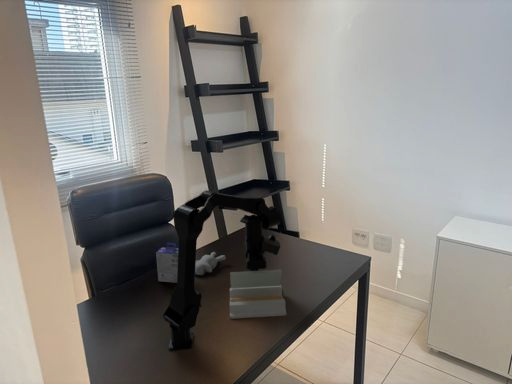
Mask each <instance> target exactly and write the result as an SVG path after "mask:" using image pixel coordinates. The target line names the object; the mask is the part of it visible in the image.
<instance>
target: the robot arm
mask: <svg viewBox="0 0 512 384" xmlns="http://www.w3.org/2000/svg"><path fill="white" fill-rule="evenodd" d="M216 207H221V208H227V209H228V208H230V209H237V210H240V211H242V212H245V213H249V214H250V215H247V214H243V217H241V219H240V220H239V222H240V223H243V224H245V225H244V226H245V227H244V229H245V234H244V235H245V237H244V238H245V240H244V241H243V242H244V245H243V246H244V250H245V252H246V253H245V262H246V263H245V265H246V269H247V270H249V271H259V270H264V269H267V259H266V256H264V254H266V252H267V253H269V254H273V255H274V256H278V254H279V251H280V249H281V243H280V241H279V240H276V236H275V235H274V234H270V235H269V236H268V237H264V230H269V229H271V228H274V227H275V226H278V225H280V224H281V221H282V217H281V214H280V213H279V211H278V210H277V207H276V206H273V205H271V206H268V205H267V204H266V200H265V198H264V197H260V196H255V195H252V194H241V195H236V196H235V195H232V194H225V193H221V192H214V191H211V190H204V191H202V192H201V193H200V194H198V195H197V196H195V197H193V198H191V199H188V200H187V201H185V202H184V203H183V204H182V205H180V206H178V207H177V208H176V209H175V210H174V212H173V214H172V215H173V225H174V229H175V232H176V234H177V236H178V247H177V248H178V271H177V283H176V286H175V289H174V290H173V291H172V293H171V297H170V301H169V304H168V306H167V308H166V309H165V311H164V313H163V314H162V318H163V320H164V321H165V322H167V323H168V324H169V331H170V339H169V344H168V350H171V351H172V350H183V349H184V350H185V349H192V348H193V342H194V335H195V334H194V332H192V331H191V328H194V327H195V326H196V324H197V318H198V315H199V313H200V308H202V303H201V302H202V293H201V292H200V291H198V290H196V289H195V282H196V281H195V280H196V278H195V277H196V274H195V264H196V261H197V242H198V241H197V240H198V238H199V237H200V235H201V233H202V232H203V230H204V229H203V228H204V225H205V222H206V221H208V219H210V218H211V216H212V214H213V211H214V209H215V208H216ZM200 208H201V209H200Z"/></svg>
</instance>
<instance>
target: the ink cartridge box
mask: <svg viewBox="0 0 512 384" xmlns="http://www.w3.org/2000/svg"><path fill="white" fill-rule="evenodd" d="M176 246H177V244H176V242H166V247H161V248H159V249H158V250H157V251H156V252H155V256H156V266H157V267H156V268H157V269H156V270H157V280H158V282H160V283H161V282H162V283H163V282H165V283H176V284H177V271H178V248H179V247H176Z"/></svg>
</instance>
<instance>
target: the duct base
mask: <svg viewBox="0 0 512 384" xmlns="http://www.w3.org/2000/svg"><path fill="white" fill-rule="evenodd" d="M280 316H281V317H282V316H287V310H286V299H285V298H283V287H282V285H281V284H280V286H268V287H250V288H231V287H229V319H246V318H251V319H252V318H265V317H280Z"/></svg>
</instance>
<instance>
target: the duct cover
mask: <svg viewBox="0 0 512 384" xmlns="http://www.w3.org/2000/svg"><path fill="white" fill-rule="evenodd" d="M282 275H283V269H268V270H267V269H266V270H264V269H262V270H258V271H251V270H249V271H248V270H246V271H244V270H243V271H230V272H229V278H230V288H250V287H268V286H280V285H281V281H282Z"/></svg>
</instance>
